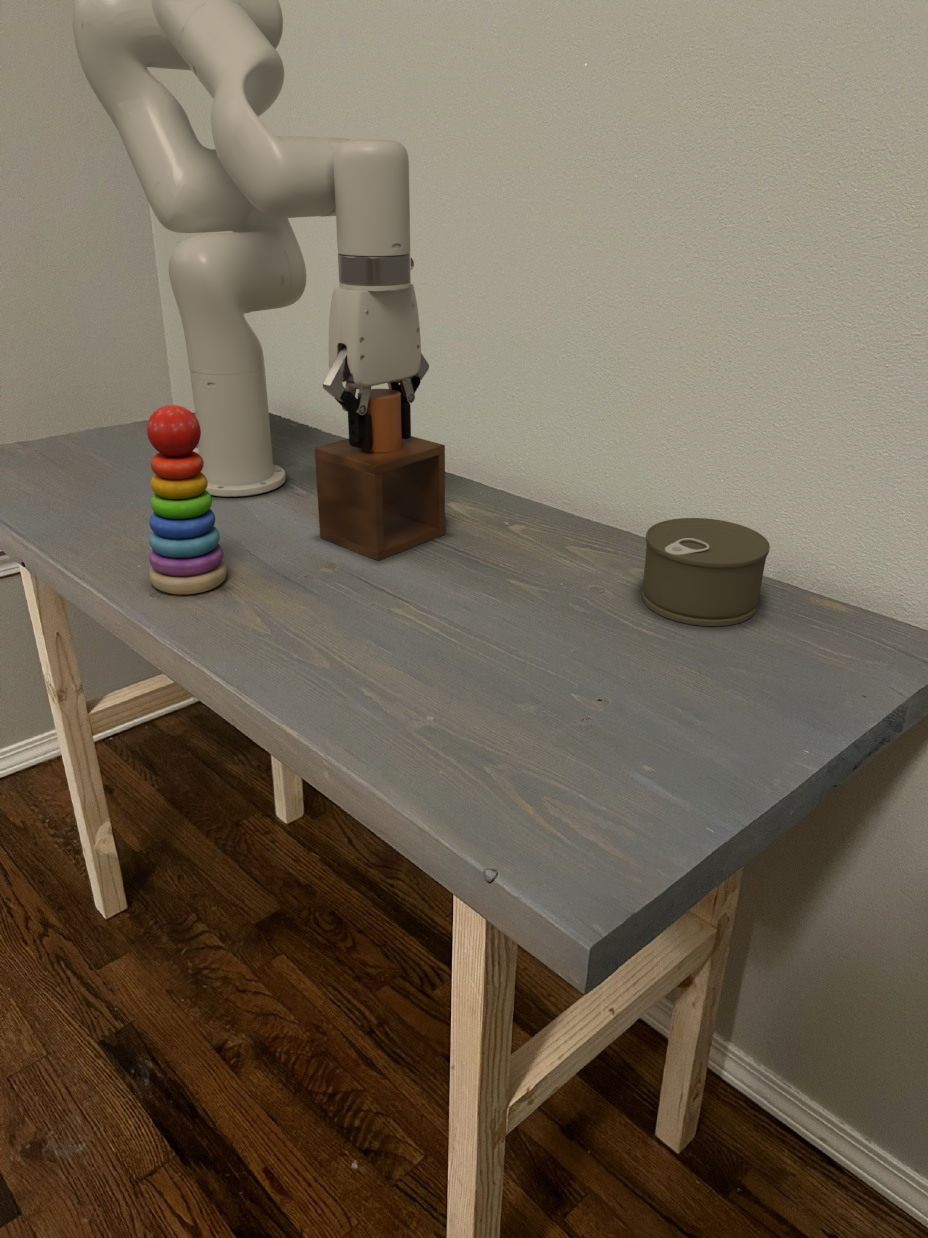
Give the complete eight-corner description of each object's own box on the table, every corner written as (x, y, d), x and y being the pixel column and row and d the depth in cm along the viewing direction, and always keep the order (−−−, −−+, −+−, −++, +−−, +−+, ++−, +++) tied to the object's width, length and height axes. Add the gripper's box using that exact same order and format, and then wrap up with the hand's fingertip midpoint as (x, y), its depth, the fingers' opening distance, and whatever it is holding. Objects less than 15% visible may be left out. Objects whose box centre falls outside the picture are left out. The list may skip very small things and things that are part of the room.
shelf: (319, 537, 110) (314, 447, 105) (387, 514, 117) (384, 428, 112) (378, 561, 104) (374, 466, 99) (445, 534, 111) (445, 444, 106)
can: (783, 607, 94) (795, 544, 91) (705, 639, 88) (714, 573, 85) (692, 568, 103) (700, 509, 100) (615, 594, 96) (621, 533, 93)
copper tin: (350, 446, 105) (348, 393, 102) (381, 437, 108) (380, 386, 105) (380, 455, 102) (378, 400, 99) (410, 446, 105) (409, 393, 103)
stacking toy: (162, 604, 93) (135, 420, 85) (141, 576, 99) (113, 401, 91) (238, 587, 97) (219, 409, 89) (213, 561, 103) (193, 392, 95)
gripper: (407, 263, 105) (410, 421, 113) (287, 275, 93) (300, 451, 102) (456, 268, 100) (455, 433, 108) (336, 282, 89) (345, 465, 97)
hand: (380, 440), depth 105 cm, fingers open, 5 cm apart
